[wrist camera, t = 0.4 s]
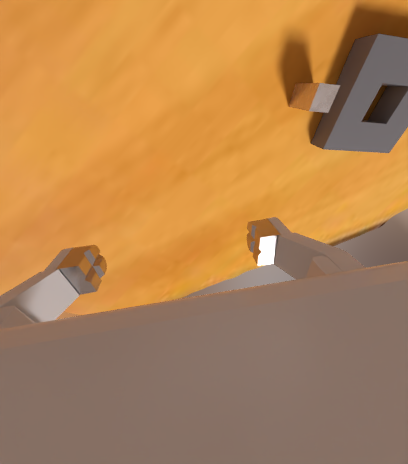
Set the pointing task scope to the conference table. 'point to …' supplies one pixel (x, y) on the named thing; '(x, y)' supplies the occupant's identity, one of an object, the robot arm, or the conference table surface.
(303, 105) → the peg
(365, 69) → the socket block
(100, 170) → the conference table surface
